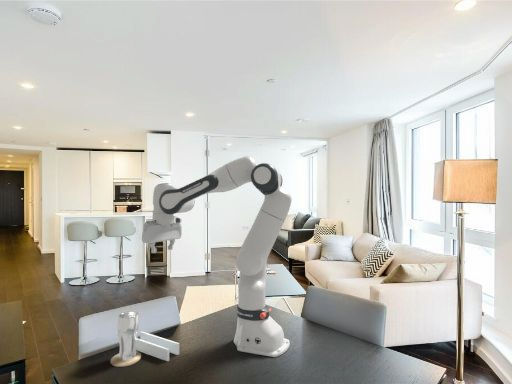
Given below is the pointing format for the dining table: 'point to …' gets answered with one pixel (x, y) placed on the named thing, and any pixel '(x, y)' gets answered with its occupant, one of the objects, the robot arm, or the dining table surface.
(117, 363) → the cork coaster
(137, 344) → the low plastic fence
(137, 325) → the beer glass
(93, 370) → the dining table surface
